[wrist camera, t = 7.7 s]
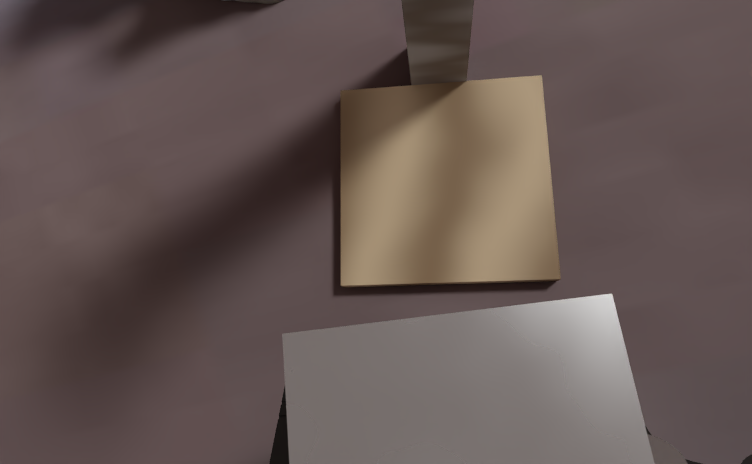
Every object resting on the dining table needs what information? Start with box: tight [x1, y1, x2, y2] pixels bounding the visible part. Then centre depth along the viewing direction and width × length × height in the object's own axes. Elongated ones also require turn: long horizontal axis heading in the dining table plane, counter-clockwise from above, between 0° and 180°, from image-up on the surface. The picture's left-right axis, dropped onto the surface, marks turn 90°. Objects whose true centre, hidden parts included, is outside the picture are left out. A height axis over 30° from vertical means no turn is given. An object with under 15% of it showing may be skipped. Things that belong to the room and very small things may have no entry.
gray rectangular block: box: [282, 294, 655, 464], centre depth 12 cm, size 4×4×11 cm
